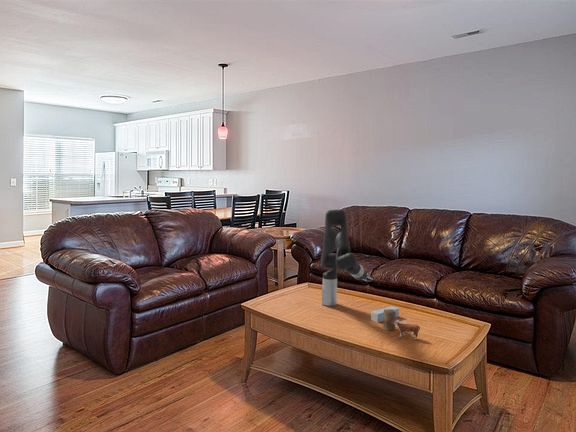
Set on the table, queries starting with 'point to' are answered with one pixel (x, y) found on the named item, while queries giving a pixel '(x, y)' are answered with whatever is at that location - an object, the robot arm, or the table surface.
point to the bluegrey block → (382, 314)
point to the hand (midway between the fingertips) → (367, 280)
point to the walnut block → (389, 319)
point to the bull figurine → (407, 328)
